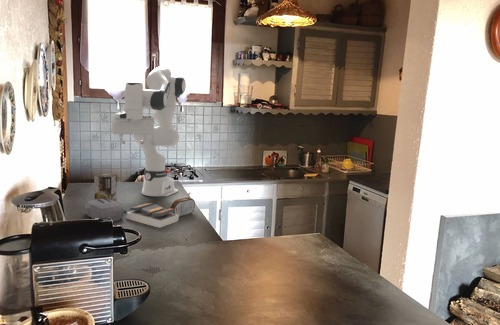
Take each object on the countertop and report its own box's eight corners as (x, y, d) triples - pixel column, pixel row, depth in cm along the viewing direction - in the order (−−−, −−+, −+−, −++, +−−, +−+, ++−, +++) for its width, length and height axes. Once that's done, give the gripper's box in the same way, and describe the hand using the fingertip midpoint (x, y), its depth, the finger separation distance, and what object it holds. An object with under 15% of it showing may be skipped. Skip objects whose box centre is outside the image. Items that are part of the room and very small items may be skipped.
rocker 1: (145, 206, 198) (145, 203, 198) (153, 206, 195) (153, 202, 195) (130, 210, 189) (130, 207, 189) (138, 210, 187) (138, 207, 187)
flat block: (166, 211, 192) (166, 208, 192) (175, 211, 189) (174, 208, 189) (152, 216, 183) (151, 212, 183) (160, 216, 181) (160, 212, 181)
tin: (191, 211, 207) (191, 195, 206) (195, 213, 206) (196, 196, 204) (169, 217, 195) (169, 200, 194) (174, 219, 193) (174, 202, 192)
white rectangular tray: (134, 209, 204) (134, 203, 204) (178, 220, 191) (178, 214, 191) (113, 215, 193) (114, 208, 192) (159, 227, 180) (159, 220, 179)
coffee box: (116, 205, 209) (117, 174, 206) (111, 208, 202) (111, 177, 200) (99, 203, 209) (100, 173, 207) (93, 207, 203) (93, 175, 200)
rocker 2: (156, 206, 195) (156, 203, 194) (163, 210, 193) (164, 207, 192) (141, 211, 186) (141, 208, 186) (149, 215, 184) (149, 212, 184)
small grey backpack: (79, 214, 191) (99, 226, 177) (79, 197, 189) (99, 207, 176) (110, 209, 201) (130, 220, 188) (110, 193, 200) (131, 202, 186)
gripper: (152, 115, 206) (151, 143, 208) (110, 114, 194) (109, 142, 197) (156, 116, 200) (155, 144, 202) (114, 114, 189) (113, 144, 191)
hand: (132, 143), depth 199 cm, fingers open, 8 cm apart
